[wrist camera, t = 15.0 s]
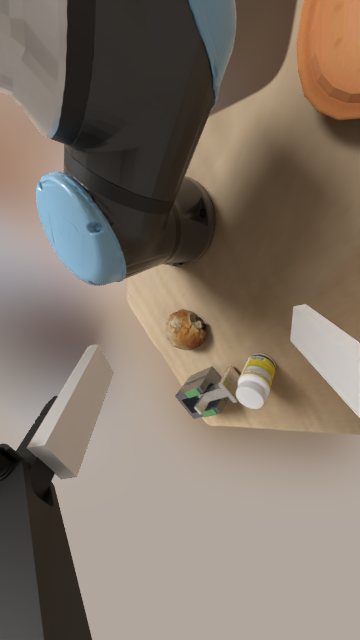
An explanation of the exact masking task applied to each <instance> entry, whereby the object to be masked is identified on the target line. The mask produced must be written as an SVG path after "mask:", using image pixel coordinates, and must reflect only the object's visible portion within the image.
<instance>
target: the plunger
mask: <svg viewBox="0 0 360 640" xmlns="http://www.w3.org/2000/svg"><path fill="white" fill-rule="evenodd" d="M239 377H240V375H239V374H238V373H237V372H236V371H235V369H234V368H233V367H232V366H231V367H229V368H228V369H227V370H226V372H225V374H224V376H223V378H222V379H221V381H220V383H217V384H214V385H212V386H209V387H207V388H206V390H205V392H204V393H201V394H200V395H198V397H199V398H200V399H199V400H198V402H197V404H196V405H195V407H194V408H195V410H196V411H197V412H198V413H199V415H200V414H203V412H204V410H205V408H206V407H207V405H208V403H209V402H210V401H214V400H217V399H221V398H225V397H229V399H230V400H231V401H232V402H233V403H236V402H238V399H237V397H236V390H237V388H238V379H239Z"/></svg>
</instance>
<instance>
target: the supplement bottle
mask: <svg viewBox="0 0 360 640" xmlns="http://www.w3.org/2000/svg"><path fill="white" fill-rule="evenodd" d="M275 370H276V365H275V362H274V361H273V360H272V359H271V358H270V357H269V356H267V355H265V354H261V353H256V354H253V355H251V356H250V357H249V358H248V360H247V362H246V364H245V366H244V369H243V371H242V373H241V375H240V377H239V379H238V388H237V390H236V397H237V399H238V401H239V402H240V403H241V404H243V405H244V406H246V407H248V408H251V409H259V408H261V407H262V406H263V404H264V401H265V399H266V398H267V397H268V395H269V393H270V390H271V386H272V382H273V378H274V374H275Z"/></svg>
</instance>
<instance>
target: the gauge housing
mask: <svg viewBox="0 0 360 640" xmlns="http://www.w3.org/2000/svg"><path fill="white" fill-rule="evenodd" d="M221 379H222V378H221V376H220V375H219V374H218V373H217V372H216V370H215V369H214V368H213V367H210V368H207V369H205V370H203V371H201V372H199V373H196V374H194V375H192V376H191V377H189V378H188V380H187V381H186V382H185V384H184V385H183V386H182V388H181V389H180V390H179V392H178V393H177V394H176V398H177V399H178V400H179V401H180V403H181V404H182V405H183V406H184V407H185V409H186V410H187V411H188V412H189V413H190V415H191V416H192V417H193V418H199V417H208V416H213V415H217V414H218V413H221V412H222V409H223V407H224V405H225V403H226V401H228V399H229V397H225V398H221V399H217V400H214V401H210V402H209V403H208V405H207V407H206V408H205V410H204V412H203V414H200V415H199V413H198V412H197V411H196V410H195V408H194V407H195V405H196V404H197V402H198V400H199V399H200V398H199V397H198V395H200V394H201V393H204V392H205V390H206V388H207V387H209V386H212V385H214V384H217V383H220V381H221Z"/></svg>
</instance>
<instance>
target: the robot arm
mask: <svg viewBox="0 0 360 640" xmlns="http://www.w3.org/2000/svg"><path fill="white" fill-rule="evenodd" d="M235 33H236V6H235V0H0V92H2V93H4V94H7V95H9V96H11V97H12V98H13V99H14V100H15V101H16V102H17V103H18V104H19V105H20V106H21V107H22V109H23V110H24V111H25V112H26V114H27V115H28V117H29V118H30V119H31V120H32V122H33V123H34V124H35V126H36V127H37V128H38V130H39V131H40V132H41V134H42V135H43V136H45V137H47V138H50V139H52V140H55V141H58V142H61V143H64V172H63V173H62V172H58V171H56V172H55V171H54V172H51V173H50V174H46V175H44V176H43V177H42V178H41V181H40V182H39V183H38V185H37V190H36V202H37V208H38V212H39V216H40V220H41V223H42V225H43V228H44V231H45V233H46V235H47V237H48V240H49V241H50V243H51V245H52V247H53V249H54V250H55V252H56V254H57V255H58V256H59V258H60V260H61V261H62V262H63V263H64V265H65V266H66V267H67V268H68V269H69V270H70V271H71V272H72V273H73V274H74V275H75V276H76V277H78V278H79V279H80V280H82V281H84V282H86V283H88V284H91V285H99V286H100V285H106V284H109V283H112V282H120V281H122V280H123V279H125V278H128V277H130V276H133V275H135V274H138V273H140V272H143V271H145V270H148V269H150V268H153V267H155V266H158V265H160V264H165V265H171V266H183V265H187V264H189V263H192V262H194V261H196V260H197V259H199V258H200V257H201V256H202V255H203V254H204V253H205V252H206V251H207V249H208V247H209V246H210V244H211V241H212V238H213V235H214V230H215V213H214V208H213V204H212V202H211V199H210V197H209V195H208V193H207V192H206V190H205V189H204V188H203V187H202V186H201V185H200V184H199V183H198V182H197V181H195V180H194V179H192V178H189V177H186V176H185V174H186V172H187V169H188V167H189V164H190V162H191V159H192V157H193V154H194V152H195V149H196V147H197V144H198V142H199V139H200V136H201V134H202V131H203V129H204V126H205V124H206V121H207V119H208V116H209V114H210V111H212V109H213V108H214V106H215V104H216V102H217V97H218V93H219V86H220V83H221V81H222V78H223V75H224V72H225V70H226V67H227V64H228V61H229V58H230V56H231V53H232V49H233V45H234V38H235ZM290 341H291V342H292V343H293V344H294V345H295V347H296V348H297V349H298V350H299V351H300V352H301V353H302V354H303V355H304V357H305V358H306V359H307V360H308V361H309V362H310V363H311V364H312V366H313V367H314V368H315V369H316V370H317V371H318V372H319V373H320V374H321V376H322V377H323V378H324V379H325V380H326V381H327V382H328V383H329V385H330V386H331V387H332V388H333V389H334V390H335V391H336V392H337V393H338V395H339V396H340V397H341V398H342V399H343V400H344V401H345V402H346V403H347V405H348V406H349V407H350V408H351V409H352V410H353V411H354V412H355V414H356V415H357V416H358V417H359V418H360V342H358V341H357V340H355V339H354V338H352V337H351V336H350V335H348V334H347V333H345V332H344V331H343V330H341V329H340V328H338V327H337V326H336V325H334V324H333V323H331V322H330V321H329V320H327V319H326V318H324V317H323V316H322V315H320V314H319V313H317V312H316V311H315V310H313V309H312V308H310V307H309V306H308V305H306V304H303V305H298V306H293V316H292V327H291V337H290ZM112 375H113V371H112V369H111V367H110V365H109V363H108V361H107V359H106V357H105V355H104V353H103V351H102V349H101V347H100V345H99V344H96V345H91V346H88V348H87V349H86V351H85V352H84V354H83V356H82V357H81V359H80V361H79V362H78V364H77V365H76V367H75V369H74V370H73V372H72V374H71V375H70V377H69V379H68V380H67V382H66V384H65V385H64V387H63V389H62V390H61V392H60V394H59V395H58V396H54V397H53V398H52V399H51V400H50V401H49V402H48V403H47V404H46V406H45V407H44V409H43V410H42V411H41V413H40V416H38V418H37V419H36V421H35V424H33V426H32V427H31V429H30V430H29V432H28V433H27V435H26V436H25V438H24V440H23V441H22V443H21V444H20V446H19V447H18V449H17V451H15V450H13V449H12V448H11V447H10V446H9V445H7V444H0V640H92V638H91V633H90V629H89V626H88V621H87V617H86V613H85V609H84V605H83V601H82V597H81V593H80V589H79V585H78V580H77V576H76V572H75V568H74V564H73V560H72V556H71V552H70V548H69V544H68V540H67V536H66V532H65V528H64V524H63V520H62V515H61V511H60V507H59V503H58V499H57V495H56V491H55V487H54V485H53V483H52V482H51V480H52V478H53V476H54V474H56V475H57V476H58V477H59V478H60V479H66V478H72V477H77V475H78V472H79V469H80V466H81V463H82V461H83V458H84V455H85V452H86V449H87V446H88V444H89V441H90V438H91V435H92V432H93V429H94V427H95V424H96V421H97V418H98V415H99V412H100V410H101V406H102V404H103V401H104V398H105V396H106V393H107V390H108V387H109V384H110V381H111V379H112Z"/></svg>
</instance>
